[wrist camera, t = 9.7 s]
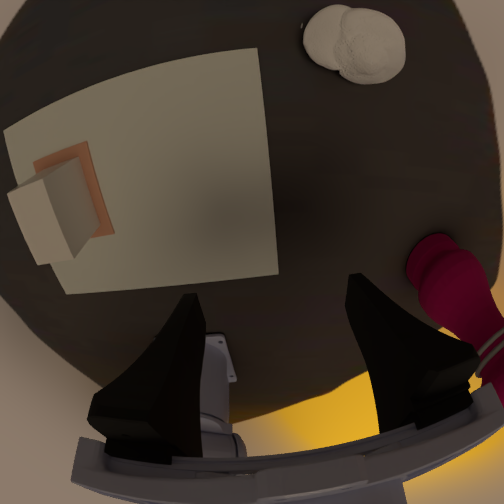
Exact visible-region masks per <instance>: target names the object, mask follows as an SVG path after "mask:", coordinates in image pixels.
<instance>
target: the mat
mask: <svg viewBox="0 0 504 504" xmlns="http://www.w3.org/2000/svg"><path fill="white" fill-rule="evenodd" d="M4 136H5V140H6V144H7V149H8V152H9V156H10V160H11V164H12V167H13V171H14V174H15V177H16V180H17V184H18V186H19V185H20V184H22V183H23V182H25V181H26V180H28V179H29V178H31V177H32V176H34V175H35V174H36V172H35V169H34V165H33V162H34V161H36V160H39V159H41V158H43V157H46V156H48V155H50V154H53V153H55V152H58V151H60V150H63V149H65V148H68V147H71V146H73V145H76V144H79V143H82V142H85V141H87V142H88V146H89V150H90V154H91V158H92V162H93V165H94V169H95V172H96V176H97V179H98V183H99V186H100V189H101V193H102V196H103V199H104V202H105V205H106V208H107V211H108V214H109V217H110V220H111V223H112V226H113V229H114V232H115V234H112V235H106V236H100V237H95V238H90V239H89V240H88V241H87V243H86V244H85V245H84V247H83V248H82V249H81V251H80V252H79V253H78V255H77V256H76V257H75V259H73V260H66V261H60V262H54V263H50V264H51V266H52V268H53V270H54V272H55V274H56V276H57V278H58V280H59V282H60V283H61V285H62V287H63V289H64V291H65V292H66V294H78V293H91V292H105V291H117V290H129V289H141V288H152V287H163V286H173V285H184V284H194V283H203V282H213V281H222V280H232V279H241V278H249V277H258V276H267V275H275V274H279V273H278V258H277V245H276V232H275V219H274V207H273V195H272V184H271V173H270V162H269V152H268V141H267V132H266V122H265V112H264V103H263V94H262V85H261V77H260V68H259V60H258V52H257V48H250V49H240V50H232V51H224V52H217V53H211V54H205V55H199V56H194V57H189V58H184V59H179V60H175V61H170V62H166V63H162V64H158V65H154V66H150V67H147V68H143V69H140V70H136V71H133V72H130V73H127V74H124V75H121V76H118V77H115V78H112V79H109V80H106V81H103V82H101V83H98V84H96V85H93V86H90V87H88V88H85V89H83V90H81V91H78V92H76V93H74V94H71V95H69V96H67V97H65V98H63V99H60V100H58V101H56V102H54V103H52V104H50V105H48V106H46V107H44V108H42V109H40V110H38V111H37V112H35V113H33V114H31V115H29V116H27V117H26V118H24V119H22V120H20V121H19V122H17V123H15V124H14V125H12V126H11V127H9V128H7V129H6V130H4Z"/></svg>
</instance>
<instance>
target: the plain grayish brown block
mask: <svg viewBox="0 0 504 504" xmlns="http://www.w3.org/2000/svg"><path fill="white" fill-rule="evenodd" d="M7 195H8V198H9V201H10V204H11V206H12V209H13V211H14V214H15V217H16V219H17V221H18V224H19V226H20V229H21V231H22V233H23V236H24V238H25V240H26V242H27V244H28V246H29V249H30V251H31V253H32V255H33V257H34V259H35V261H36V263H37V265H41V264H48V263H54V262H60V261H66V260H73V259H75V257H76V256H77V255H78V253H79V252H80V251H81V249H82V248H83V247H84V245H85V244H86V243H87V241H88V240H89V239H90V237H91V236H92V235H93V234H94V232H95V231H96V230H97V229H98V227H99V226H100V225H101V224H100V221H99V219H98V216H97V213H96V210H95V207H94V204H93V202H92V199H91V196H90V192H89V189H88V186H87V183H86V180H85V176H84V173H83V170H82V166H81V163H80V159H79V156H78V157H75V158H72V159H69V160H67V161H64V162H61V163H59V164H56V165H53V166H51V167H48V168H46V169H43V170H42V171H40V172H38V173H37V174H35V175H34V176H32V177H31V178H29V179H28V180H26V181H25V182H23V183H22V184H20V185H19V186H17V187H16V188H14V189H13V190H11V191H10V192H9V193H7Z"/></svg>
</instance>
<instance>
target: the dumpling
mask: <svg viewBox="0 0 504 504" xmlns="http://www.w3.org/2000/svg"><path fill="white" fill-rule="evenodd" d="M302 24H303V23H302ZM302 24H301V28H302ZM303 44H304V47H305V49H306V52H307V53H308V55H309V56H310V58H311V59H312V60H313V61H314V62H315V63H317V64H319V65H321V66H323V67H325V68H328V69H331V70H339V71H340V75H342V77H344V78H345V79H347V80H349V81H351V82H354V83H358V84H362V85H364V84H373V83H374V84H376V83H382V82H386V81H388V80H389V79H391V78H393V77H394V76H396V75H397V74H398V73H399V72H400V70H401V69H402V68H403V66H404V63H405V40H404V36H403V34H402V32H401V30H400V28H399V26H398V25H397V24H396V23H395V22H394V21H393V20H392V19H391V18H390V17H388V16H387V15H385V14H383V13H381V12H378V11H374V10H370V9H365V8H350V7H347V6H344V5H331V6H328V7H326V8H324V9H322V10H320V11H319V12H317V13H316V14H315V15H314V16H313V17H312V18H311V20H310V21H309V23H308V24H307V26H306V28H305V31H304V36H303Z"/></svg>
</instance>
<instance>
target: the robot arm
mask: <svg viewBox="0 0 504 504" xmlns="http://www.w3.org/2000/svg"><path fill="white" fill-rule="evenodd" d="M345 308H346V312H347V316H348V319H349V323H350V325H351V328H352V330H353V333H354V335H355V338H356V340H357V342H358V345H359V347H360V350H361V352H362V355H363V357H364V360H365V362H366V365H367V369H368V372H369V376H370V380H371V385H372V389H373V394H374V399H375V404H376V410H377V416H378V424H379V431H380V432H379V433H380V434H378V435H375V436H371V437H367V438H364V439H360V440H356V441H352V442H347V443H343V444H339V445H334V446H329V447H324V448H319V449H313V450H307V451H300V452H293V453H285V454H277V455H266V456H253V457H247V452H246V446H245V444H244V442H243V440H242V439H241V437H240V436H239V435H238V434H236V433H232V424H229V423H228V422H229V382H235V381H237V377H236V374H235V370H234V367H233V364H232V360H231V357H230V354H229V350H228V347H227V343H226V340H225V336H224V335H223V334H209V335H206V322H205V319H204V316H203V312H202V309H201V306H200V303H199V300H198V297H197V293H191V294H184V295H183V296H182V298H181V299H180V301H179V303H178V304H177V306H176V308H175V309H174V311H173V313H172V314H171V316H170V317H169V319H168V320H167V322H166V323H165V325H164V326H163V328H162V329H161V331H160V332H159V334H158V335H157V336H156V338H154V339H153V342H152V343H151V344H150V345H149V347H148V348H147V349H146V350H145V351H144V353H143V354H142V355H141V356H140V357H139V358H138V359H137V360H136V361H135V362H134V363H133V364H132V365H131V366H130V367H129V368H128V369H127V370H126V371H125V372H124V373H122V374H121V375H120V376H119V377H118V378H116V379H115V380H114V381H113V382H111V383H110V384H108V385H107V386H106V387H104V388H103V389H101V390H100V391H98V392H97V393H95V394H94V396H93V399H92V402H91V406H90V409H89V413H88V417H87V421H88V422H89V424H90V425H91V426H92V427H93V428H94V429H96V430H97V431H98V432H100V433H101V434H102V435H104V436H105V437H106V438H107V439H106V443H103V442H101V441H97V440H93V439H89V438H84V437H80V438H79V442H78V446H77V451H76V455H75V460H74V465H73V470H72V476H71V482H72V483H75V484H77V485H79V486H82V487H84V488H86V489H89V490H92V491H94V492H97V493H99V494H102V495H106V496H110V497H113V498H118V499H121V500H126V501H129V502H134V503H139V504H407V502H406V497H405V492H404V488H403V484H402V483H403V482H405V481H408V480H410V479H413V478H415V477H417V476H420V475H422V474H424V473H426V472H428V471H431V470H433V469H435V468H437V467H439V466H441V465H443V464H445V463H447V462H449V461H451V460H452V459H454V458H456V457H458V456H460V455H461V454H463V453H465V452H467V451H469V450H470V449H472V448H474V447H475V446H477V445H479V444H480V443H482V442H483V441H485V440H486V439H487V438H489V437H490V436H491V435H493V434H494V433H496V432H497V431H498V430H499V429H500V428H502V427H503V426H504V408H503V406H502V404H501V401H500V399H499V397H498V395H497V393H496V391H495V389H494V387H493V385H492V383H491V382H489V383H488V384H486V385H484V386H482V387H480V388H478V389H477V390H475V391H473V392H472V393H471V394H470V393H469V391H468V389H469V388H470V384H469V382H468V380H469V379H470V377H471V376H472V375H473V373H474V372H475V371H476V370H477V368H478V367H479V365H480V362H481V359H480V356H479V355H478V353H477V351H476V350H475V348H474V346H473V345H472V344H470V343H467V342H464V341H461V340H458V339H456V338H453V337H451V336H448V335H446V334H444V333H442V332H440V331H438V330H436V329H434V328H432V327H430V326H428V325H427V324H425V323H423V322H422V321H420V320H418V319H417V318H415V317H414V316H412V315H411V314H409V313H408V312H407V311H405V310H404V309H403V308H401V307H400V306H399V305H397V304H396V303H395V302H394V301H392V300H391V299H390V298H389V297H388V296H386V295H385V294H384V293H383V292H382V291H381V290H379V289H378V288H377V287H376V286H375V285H374V284H373V283H372V282H370V281H369V280H368V279H367V278H366V277H365V276H364V275H363V274H361V273H357V274H350V275H349V279H348V287H347V294H346V301H345ZM245 474H249V475H245Z"/></svg>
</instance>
